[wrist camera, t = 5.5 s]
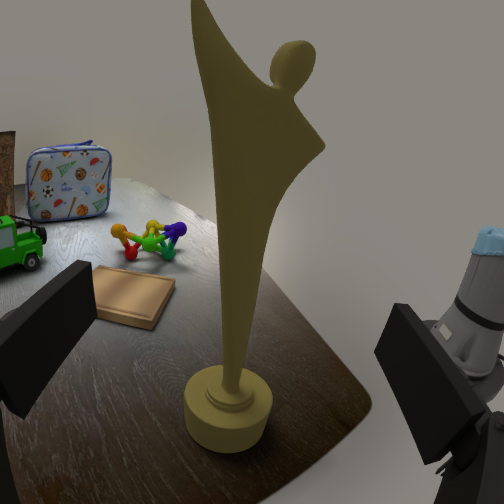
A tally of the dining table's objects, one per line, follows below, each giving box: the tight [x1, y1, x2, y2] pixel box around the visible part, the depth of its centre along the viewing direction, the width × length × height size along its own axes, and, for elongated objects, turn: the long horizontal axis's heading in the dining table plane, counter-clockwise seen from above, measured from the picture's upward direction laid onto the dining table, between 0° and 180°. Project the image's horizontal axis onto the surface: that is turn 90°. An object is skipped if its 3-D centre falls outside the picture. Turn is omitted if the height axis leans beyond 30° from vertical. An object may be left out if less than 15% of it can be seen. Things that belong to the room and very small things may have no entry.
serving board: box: [92, 265, 175, 330], centre depth 38 cm, size 14×12×2 cm
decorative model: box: [111, 220, 187, 260], centre depth 52 cm, size 13×9×15 cm
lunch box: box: [26, 140, 112, 222], centre depth 65 cm, size 28×10×22 cm, turn 131°
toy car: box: [0, 215, 47, 271], centre depth 36 cm, size 8×17×10 cm, turn 150°
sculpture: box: [184, 0, 325, 453], centre depth 17 cm, size 11×7×30 cm, turn 129°
